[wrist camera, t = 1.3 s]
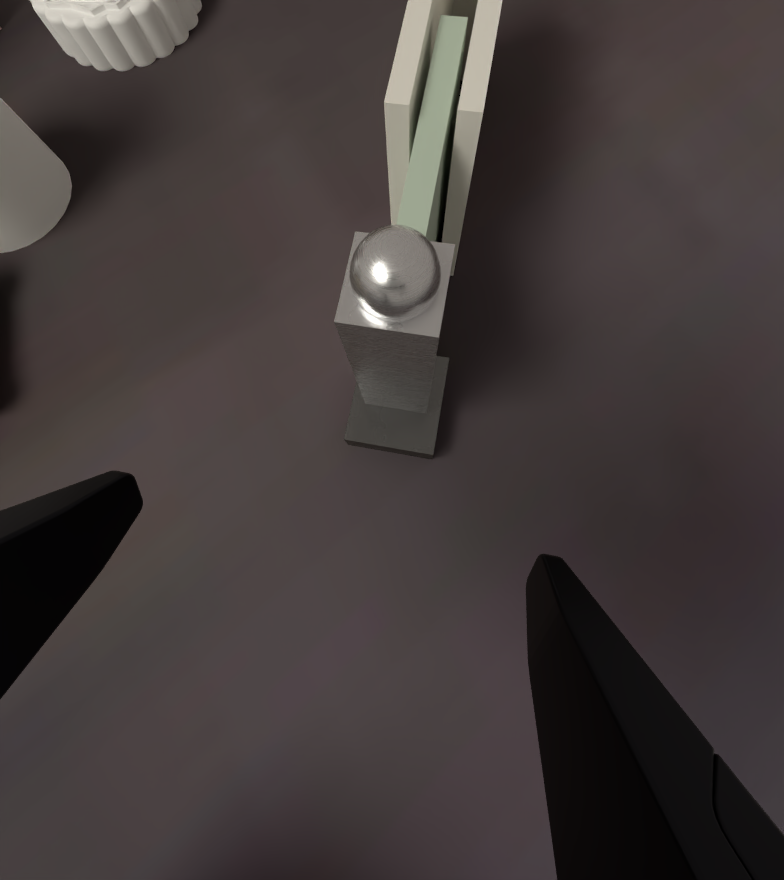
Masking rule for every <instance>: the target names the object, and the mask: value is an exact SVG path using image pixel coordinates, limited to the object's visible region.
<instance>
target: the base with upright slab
mask: <svg viewBox="0 0 784 880" xmlns="http://www.w3.org/2000/svg"><path fill="white" fill-rule="evenodd" d="M71 189H72V183H71V178H70V173H69V171H68V170H67V168H66V166H65V165H64V163H63V162H62V161H61V160H60V159H59V158H58V157H57V156H56V155H55V153H54V152H53V151H52V150H51V149H50V148H49V147H48V146H47V145H46V144H45V143H44V142H43V141H42V140H41V139H40V138H39V137H38V136H37V135H36V134H35V133H34V132H33V131H32V130H31V129H30V128H29V127H28V126H27V125H26V124H25V123H24V122H23V121H22V119H21V118H20V117H19V116H18V115H17V114H16V113H15V112H14V111H13V110H12V109H11V108H10V107H9V106H8V105H7V104H6V103H5V102H4V101H3V100H2V99H1V98H0V253H3V252H12V251H14V250H17V249H20V248H23V247H26V246H29V245H30V244H32V243H34V242H35V241H37V240H39V239H41V238H42V237H44V236H45V235H46V234H47V233H48V232H49V231H50V230H51V229H52V228H54V227H55V226H56V224H57V223H58V222H59V220H60V219H61V217H62V216H63V215H64V213H65V211H66V209H67V206H68V204H69V201H70V199H71Z"/></svg>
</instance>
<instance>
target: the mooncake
mask: <svg viewBox="0 0 784 880" xmlns="http://www.w3.org/2000/svg"><path fill="white" fill-rule="evenodd" d="M30 2H31V3H32V6H33V9H34V10H35V12H36V13H37V15H38V16H39V17H40V19H41V20H42V21H43V23H44V24H45V25H46V27H47V28H48V30H49V31H50V32H51V34H52V35H53V36H54V38H55V39H56V40H57V42H58V43H59V44H60V46H61V47H62V49H63V50H64V51H65V53H66V54H67V55H69V56H71V57H74V58H75V59H76V60H77V62H78V63H79V64H81V65H83V66H92V65H93V66H94V67H95V68H96V69H97V70H99V71H108V70H111V69H112V68H114V69H115V70H117V71H128V70H130V69H132V68H133V67H134V66H138V67H145V66H148V65H150V64H152V63H153V62H154V61H155V60H156V58H164V57H167V56H169V55H170V54H171V53H172V52H173V50H174V48H175V46H178V45H181V44H183V43H184V42H185V41H186V40H187V39H188V37H189V31H190V30H192V29H193V28H195V27H196V25H197V24H198V16H197V14H198V13H199V12H200V10H201V8H202V3H201V0H30Z"/></svg>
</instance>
